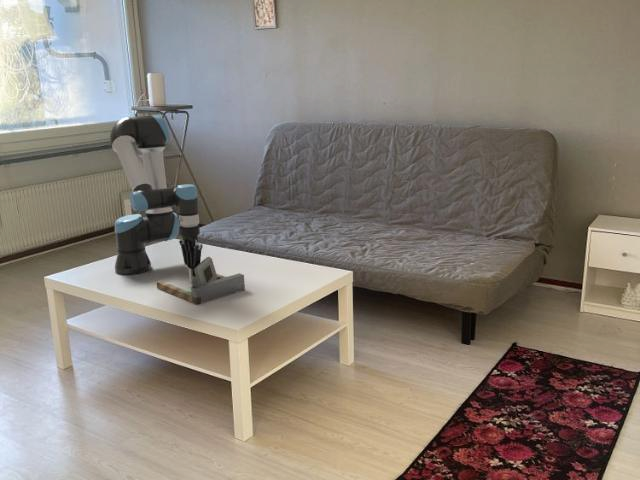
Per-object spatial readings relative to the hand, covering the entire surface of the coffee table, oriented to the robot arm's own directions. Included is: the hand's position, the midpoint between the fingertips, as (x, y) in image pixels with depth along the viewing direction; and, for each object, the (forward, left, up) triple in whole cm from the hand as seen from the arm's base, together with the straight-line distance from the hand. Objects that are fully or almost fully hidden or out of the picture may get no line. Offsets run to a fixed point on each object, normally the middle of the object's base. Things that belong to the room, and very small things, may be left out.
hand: (193, 283), depth 250 cm
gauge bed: (+4, 0, -1) cm, 5 cm away
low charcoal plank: (+17, 0, -1) cm, 17 cm away
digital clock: (+6, +2, -1) cm, 6 cm away
